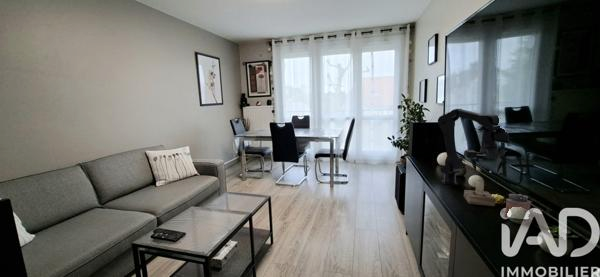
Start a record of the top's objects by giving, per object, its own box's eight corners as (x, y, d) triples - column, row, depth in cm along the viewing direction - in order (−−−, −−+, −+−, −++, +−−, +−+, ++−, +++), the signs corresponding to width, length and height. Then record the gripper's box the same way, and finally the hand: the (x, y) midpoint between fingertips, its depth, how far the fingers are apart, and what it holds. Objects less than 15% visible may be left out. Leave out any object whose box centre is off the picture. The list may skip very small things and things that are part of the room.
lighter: (526, 217, 105) (529, 194, 103) (530, 220, 101) (533, 197, 100) (503, 214, 107) (505, 192, 106) (506, 218, 104) (509, 195, 103)
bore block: (463, 196, 127) (464, 189, 126) (487, 198, 124) (487, 191, 123) (469, 203, 119) (469, 196, 118) (494, 206, 115) (495, 198, 115)
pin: (473, 197, 123) (475, 181, 122) (481, 198, 122) (482, 182, 121) (476, 199, 120) (477, 183, 119) (483, 200, 119) (485, 184, 118)
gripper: (471, 142, 119) (468, 174, 122) (520, 144, 113) (516, 178, 115) (464, 139, 129) (462, 168, 132) (509, 140, 123) (505, 171, 126)
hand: (485, 171), depth 126 cm, fingers open, 9 cm apart
